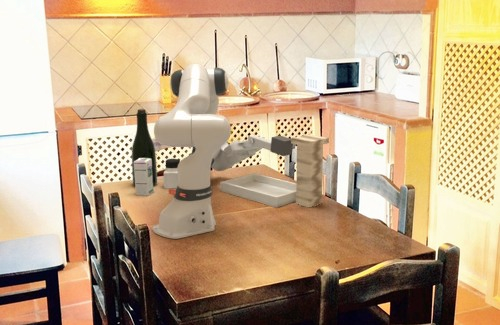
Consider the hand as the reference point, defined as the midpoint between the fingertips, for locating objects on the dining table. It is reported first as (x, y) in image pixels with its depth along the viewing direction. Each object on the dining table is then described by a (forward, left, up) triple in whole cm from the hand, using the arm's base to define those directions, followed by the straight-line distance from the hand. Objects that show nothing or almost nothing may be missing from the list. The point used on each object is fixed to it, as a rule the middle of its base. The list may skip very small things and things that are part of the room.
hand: (257, 139), depth 250 cm
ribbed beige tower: (0, -28, -21) cm, 35 cm away
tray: (-2, -6, -21) cm, 22 cm away
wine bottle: (-28, +41, -22) cm, 54 cm away
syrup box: (-36, +30, -22) cm, 52 cm away
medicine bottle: (-21, +30, -22) cm, 42 cm away
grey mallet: (0, -7, -3) cm, 7 cm away
